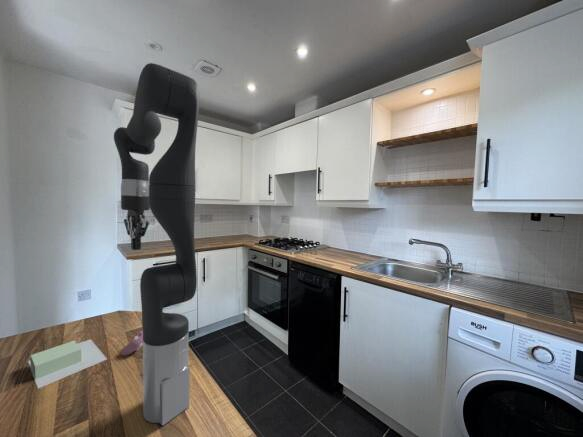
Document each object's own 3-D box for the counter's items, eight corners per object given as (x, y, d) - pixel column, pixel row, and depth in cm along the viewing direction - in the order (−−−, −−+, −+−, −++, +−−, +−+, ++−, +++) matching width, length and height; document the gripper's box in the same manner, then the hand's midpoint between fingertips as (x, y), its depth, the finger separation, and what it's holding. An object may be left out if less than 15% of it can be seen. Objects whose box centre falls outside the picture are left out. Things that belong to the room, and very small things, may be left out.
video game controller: (131, 362, 71) (141, 342, 70) (117, 355, 70) (127, 335, 70) (150, 343, 80) (159, 325, 80) (139, 336, 80) (148, 319, 80)
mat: (107, 360, 69) (107, 359, 69) (37, 389, 58) (37, 388, 58) (90, 340, 78) (90, 339, 78) (27, 362, 67) (27, 361, 67)
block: (81, 349, 67) (34, 366, 60) (81, 361, 68) (34, 380, 60) (74, 340, 71) (29, 355, 64) (74, 351, 72) (30, 368, 64)
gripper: (113, 194, 74) (114, 248, 75) (130, 194, 66) (131, 254, 67) (140, 195, 80) (140, 245, 81) (158, 195, 72) (158, 250, 73)
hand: (136, 249), depth 74 cm, fingers closed
